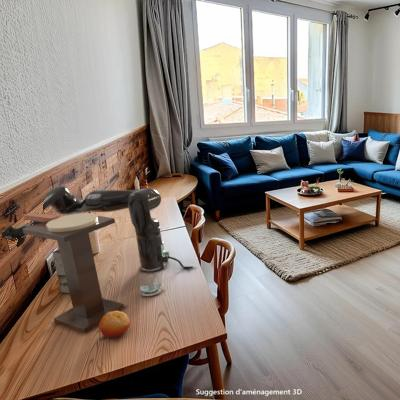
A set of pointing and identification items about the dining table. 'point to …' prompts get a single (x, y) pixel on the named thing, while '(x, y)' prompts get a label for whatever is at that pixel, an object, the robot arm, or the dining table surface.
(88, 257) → the shelf stand
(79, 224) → the table tennis paddle
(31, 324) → the dining table surface
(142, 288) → the clear glass cup
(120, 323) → the fruit
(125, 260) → the dining table surface
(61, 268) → the coffee box
